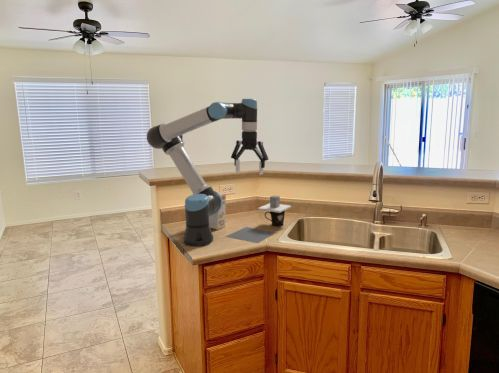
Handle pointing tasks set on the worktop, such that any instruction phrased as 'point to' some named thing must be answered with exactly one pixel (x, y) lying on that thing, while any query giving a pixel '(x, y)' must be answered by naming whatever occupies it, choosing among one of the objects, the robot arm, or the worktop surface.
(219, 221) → the coffeecake box
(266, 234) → the mat
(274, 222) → the coffee mug
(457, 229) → the worktop surface
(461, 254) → the worktop surface
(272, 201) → the lid
